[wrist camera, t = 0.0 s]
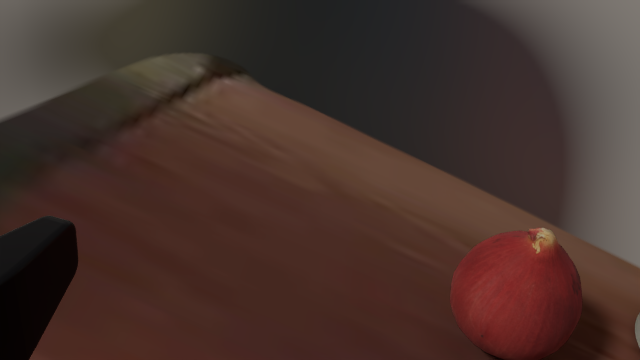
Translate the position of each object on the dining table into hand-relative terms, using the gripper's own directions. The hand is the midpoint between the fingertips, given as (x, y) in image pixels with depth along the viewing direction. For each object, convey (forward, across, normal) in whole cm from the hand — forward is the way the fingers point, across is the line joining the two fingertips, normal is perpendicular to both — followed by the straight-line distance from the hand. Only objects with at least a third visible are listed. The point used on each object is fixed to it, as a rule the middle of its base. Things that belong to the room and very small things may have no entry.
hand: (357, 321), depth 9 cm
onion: (+16, -8, +17) cm, 24 cm away
